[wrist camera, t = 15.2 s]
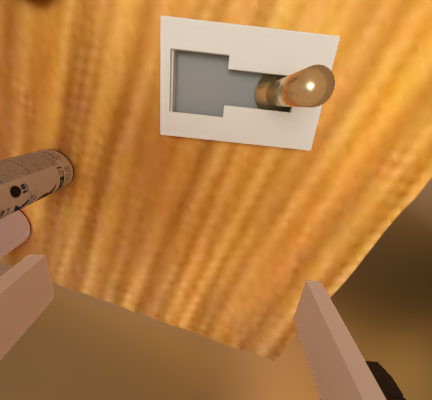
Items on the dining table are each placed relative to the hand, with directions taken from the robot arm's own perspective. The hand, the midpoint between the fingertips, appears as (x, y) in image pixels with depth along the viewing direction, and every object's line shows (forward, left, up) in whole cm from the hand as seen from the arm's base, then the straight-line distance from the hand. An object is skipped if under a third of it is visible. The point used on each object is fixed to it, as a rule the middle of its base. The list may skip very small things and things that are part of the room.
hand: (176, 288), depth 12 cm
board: (-11, +4, -29) cm, 31 cm away
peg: (-11, +9, -28) cm, 31 cm away
